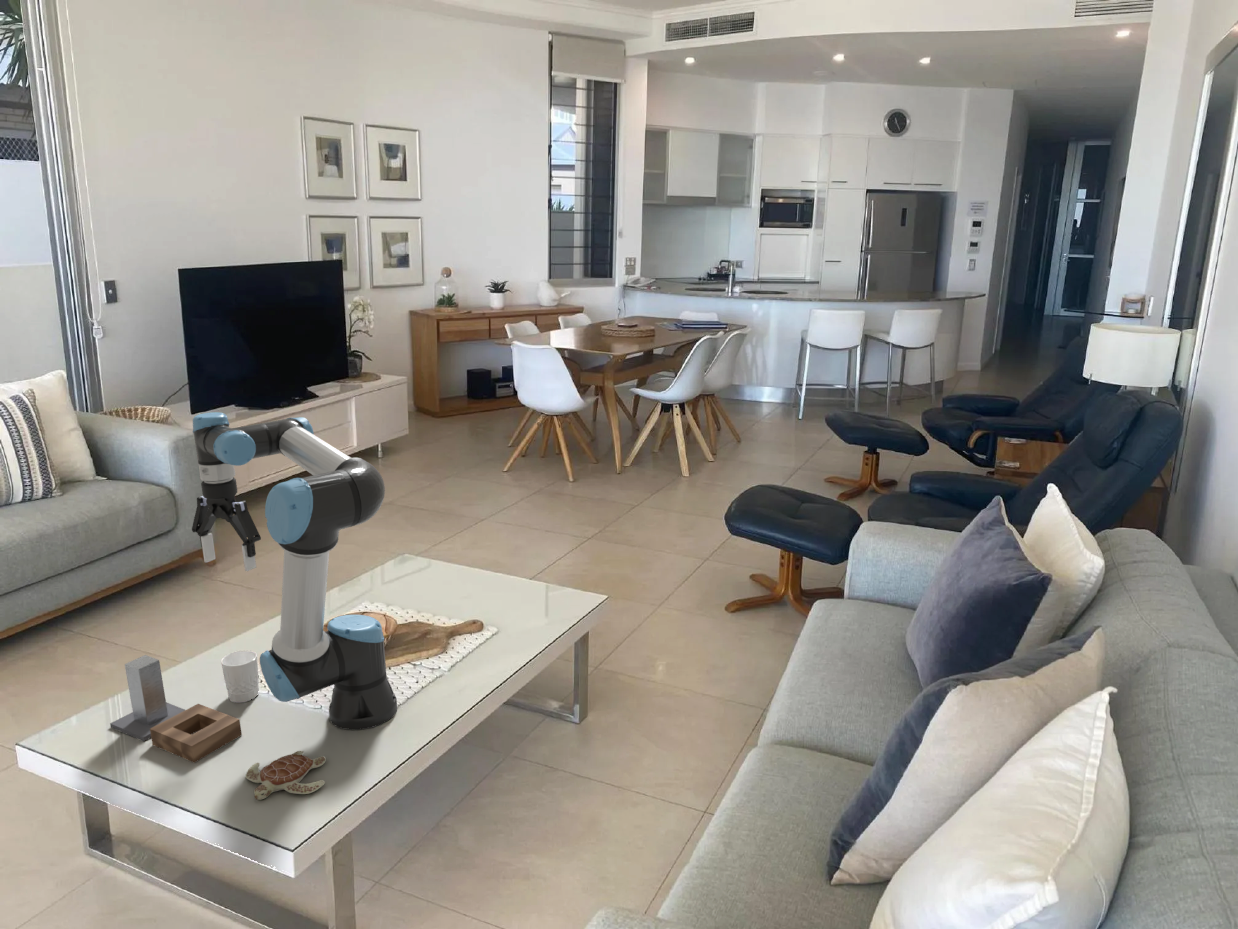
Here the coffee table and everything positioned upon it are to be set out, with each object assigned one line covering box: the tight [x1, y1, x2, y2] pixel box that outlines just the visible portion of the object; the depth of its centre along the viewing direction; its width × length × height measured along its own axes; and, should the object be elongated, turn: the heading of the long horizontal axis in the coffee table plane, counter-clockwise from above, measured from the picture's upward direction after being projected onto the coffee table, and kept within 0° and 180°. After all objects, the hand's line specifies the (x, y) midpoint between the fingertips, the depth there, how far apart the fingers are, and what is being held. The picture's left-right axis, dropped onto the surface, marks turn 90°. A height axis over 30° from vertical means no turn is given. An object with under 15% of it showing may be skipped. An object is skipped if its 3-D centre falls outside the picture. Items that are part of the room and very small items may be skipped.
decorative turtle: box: [245, 750, 327, 801], centre depth 189 cm, size 18×17×5 cm
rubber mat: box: [109, 701, 186, 742], centre depth 212 cm, size 12×12×1 cm
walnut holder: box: [150, 703, 243, 764], centre depth 204 cm, size 14×12×4 cm
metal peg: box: [124, 654, 168, 726], centre depth 210 cm, size 5×5×14 cm
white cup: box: [220, 650, 260, 704], centre depth 221 cm, size 8×8×10 cm
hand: (230, 565), depth 221 cm, fingers open, 13 cm apart
